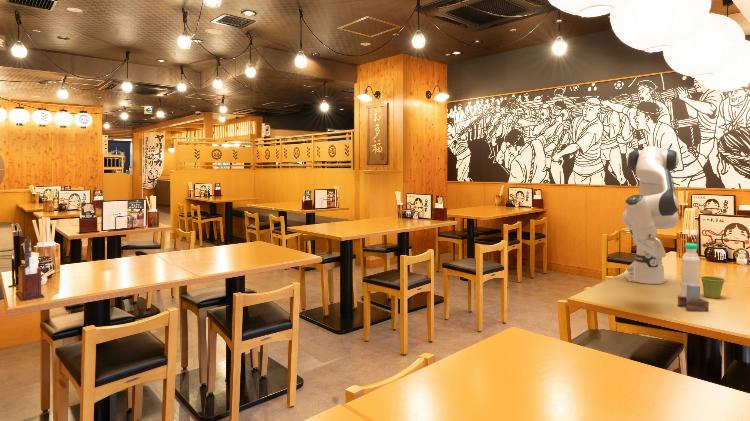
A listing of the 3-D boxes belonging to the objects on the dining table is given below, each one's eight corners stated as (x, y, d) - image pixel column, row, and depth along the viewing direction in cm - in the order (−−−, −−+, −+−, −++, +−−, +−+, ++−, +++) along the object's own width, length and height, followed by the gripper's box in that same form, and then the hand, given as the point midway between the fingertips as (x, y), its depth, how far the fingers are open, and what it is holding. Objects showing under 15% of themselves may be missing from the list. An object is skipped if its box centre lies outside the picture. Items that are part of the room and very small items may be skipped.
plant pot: (720, 294, 224) (721, 276, 223) (727, 300, 215) (728, 281, 214) (697, 293, 227) (697, 275, 226) (703, 298, 218) (704, 279, 217)
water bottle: (701, 299, 216) (703, 245, 214) (684, 299, 217) (686, 244, 215) (694, 295, 223) (696, 242, 220) (677, 295, 224) (679, 242, 222)
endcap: (677, 305, 207) (678, 296, 207) (697, 305, 206) (697, 296, 206) (688, 311, 199) (688, 301, 199) (708, 311, 198) (708, 301, 198)
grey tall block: (685, 307, 205) (686, 284, 204) (694, 307, 204) (695, 284, 204) (690, 309, 201) (691, 286, 200) (699, 309, 201) (700, 286, 200)
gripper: (664, 235, 194) (674, 266, 196) (641, 224, 214) (650, 251, 216) (649, 241, 195) (658, 271, 197) (627, 229, 215) (636, 256, 217)
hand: (654, 260), depth 206 cm, fingers open, 8 cm apart
